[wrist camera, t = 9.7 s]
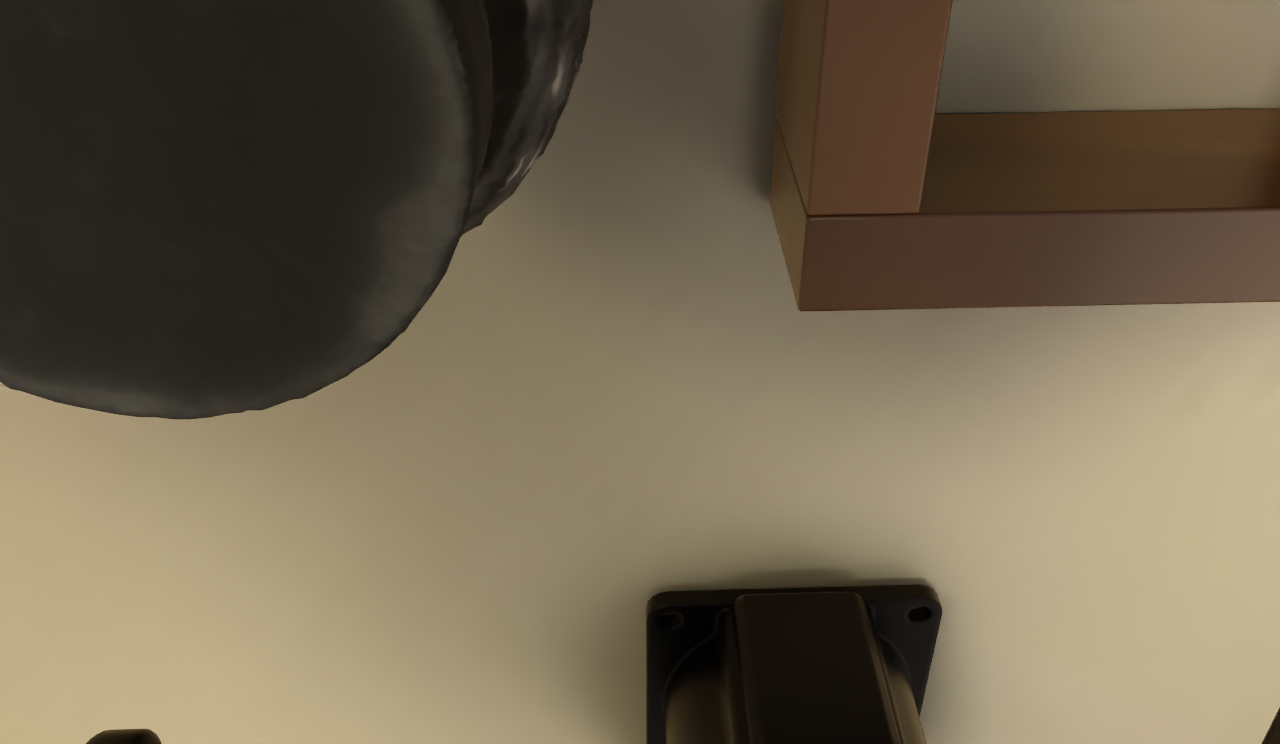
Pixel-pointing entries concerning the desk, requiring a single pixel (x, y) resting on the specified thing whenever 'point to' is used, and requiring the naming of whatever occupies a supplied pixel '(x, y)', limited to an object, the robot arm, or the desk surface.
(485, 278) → the desk surface
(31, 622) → the desk surface
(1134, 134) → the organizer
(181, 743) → the desk surface
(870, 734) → the robot arm
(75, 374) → the pill bottle
